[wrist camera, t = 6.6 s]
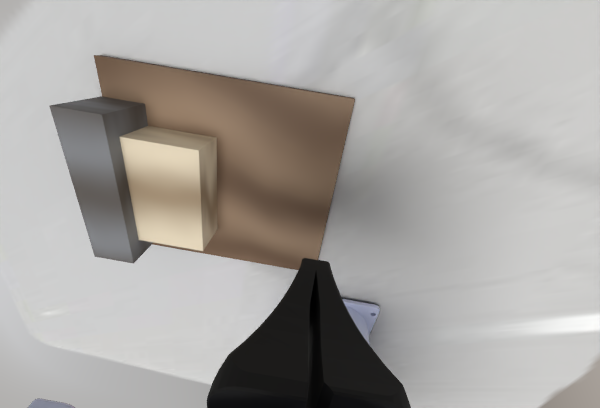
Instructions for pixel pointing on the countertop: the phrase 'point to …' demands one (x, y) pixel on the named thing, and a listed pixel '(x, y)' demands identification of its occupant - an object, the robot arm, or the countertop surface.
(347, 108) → the board
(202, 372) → the countertop surface
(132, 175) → the cream wooden block
